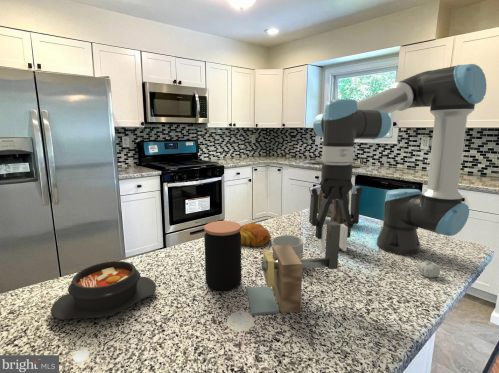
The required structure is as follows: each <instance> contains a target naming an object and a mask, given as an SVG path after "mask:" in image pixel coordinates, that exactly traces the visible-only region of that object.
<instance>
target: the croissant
mask: <svg viewBox="0 0 499 373" xmlns="http://www.w3.org/2000/svg"><path fill="white" fill-rule="evenodd" d="M240 233H241V246H248V247H249V246H251V247H255V248H256V247H260V246H263V245H266V244H268V243H269V242H270V239H271V238H272V236H271V234H270V232H269V230H268V229H267V228H265V226H263V225H262V224H260V223H256V222H251V223H250V222H249V223H246V224H244V225H241V230H240Z"/></svg>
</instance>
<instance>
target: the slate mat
mask: <svg viewBox="0 0 499 373" xmlns="http://www.w3.org/2000/svg"><path fill="white" fill-rule="evenodd" d="M246 293H247V298H248V303H249V309H250V314H251V316H257V315H271V314H272V315H273V314H279V313H280V308H279V306H278V303H277V300H276V297H275V295H274V292H273V289H272V287H267V285H264V286H247V287H246Z"/></svg>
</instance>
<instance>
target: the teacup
mask: <svg viewBox="0 0 499 373" xmlns="http://www.w3.org/2000/svg"><path fill="white" fill-rule="evenodd" d="M303 239H304V238H301V237H300V236H297V235H292V234H290V235H289V234H288V233H283V234H282V235H279V236H275V237H273V238H272V239H271V245H272V246H271V247H272V248H271V249H272V250H271V251H273V246H278V245H290V246H291V247H292V249H293V250H294V252H295V253H296V255H297V256H298V258H299V259H303V256H304V240H303Z"/></svg>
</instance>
